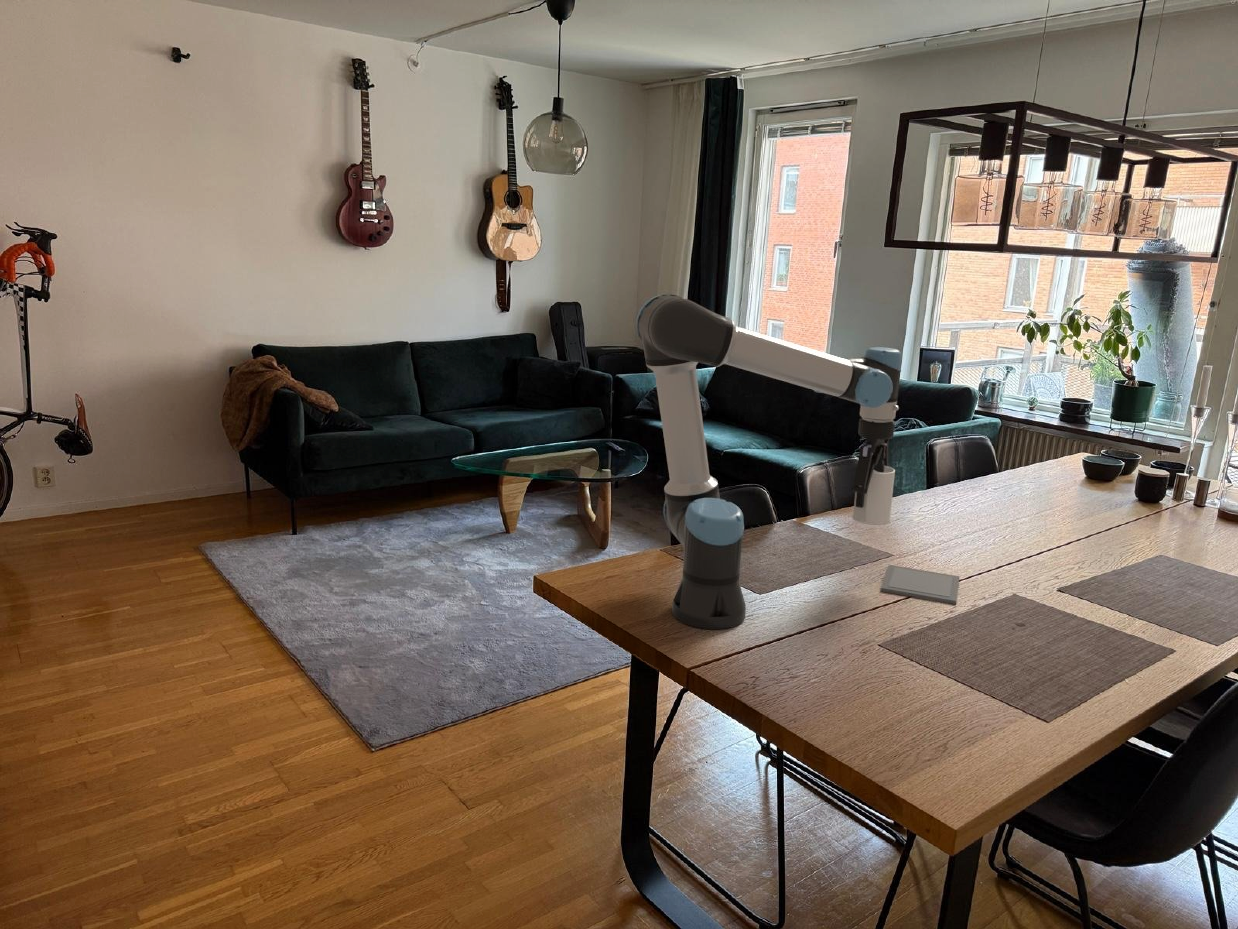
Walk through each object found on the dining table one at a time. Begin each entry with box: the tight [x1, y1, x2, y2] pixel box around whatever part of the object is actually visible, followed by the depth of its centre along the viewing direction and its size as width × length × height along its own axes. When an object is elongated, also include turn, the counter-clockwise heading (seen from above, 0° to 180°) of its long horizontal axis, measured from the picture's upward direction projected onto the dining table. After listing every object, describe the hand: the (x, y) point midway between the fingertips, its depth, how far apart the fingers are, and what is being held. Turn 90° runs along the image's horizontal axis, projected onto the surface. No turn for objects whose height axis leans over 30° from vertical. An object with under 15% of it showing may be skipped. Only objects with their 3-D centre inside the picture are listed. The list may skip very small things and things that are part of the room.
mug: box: [851, 465, 896, 526], centre depth 199 cm, size 12×8×12 cm
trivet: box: [880, 564, 960, 605], centre depth 203 cm, size 16×16×1 cm
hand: (867, 513), depth 199 cm, fingers closed on mug, 11 cm apart
